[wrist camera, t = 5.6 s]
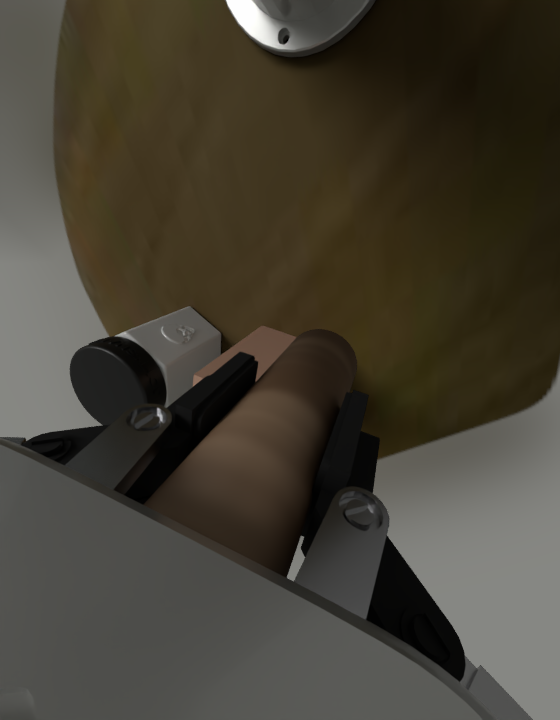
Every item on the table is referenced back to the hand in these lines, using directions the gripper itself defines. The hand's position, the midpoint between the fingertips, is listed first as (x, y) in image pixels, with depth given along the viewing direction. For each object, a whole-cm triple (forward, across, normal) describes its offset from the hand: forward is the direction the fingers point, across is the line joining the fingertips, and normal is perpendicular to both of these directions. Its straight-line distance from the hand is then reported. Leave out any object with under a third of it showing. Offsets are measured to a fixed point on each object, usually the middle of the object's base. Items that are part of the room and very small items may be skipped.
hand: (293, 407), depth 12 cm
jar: (+19, +17, +10) cm, 27 cm away
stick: (+4, 0, 0) cm, 4 cm away
